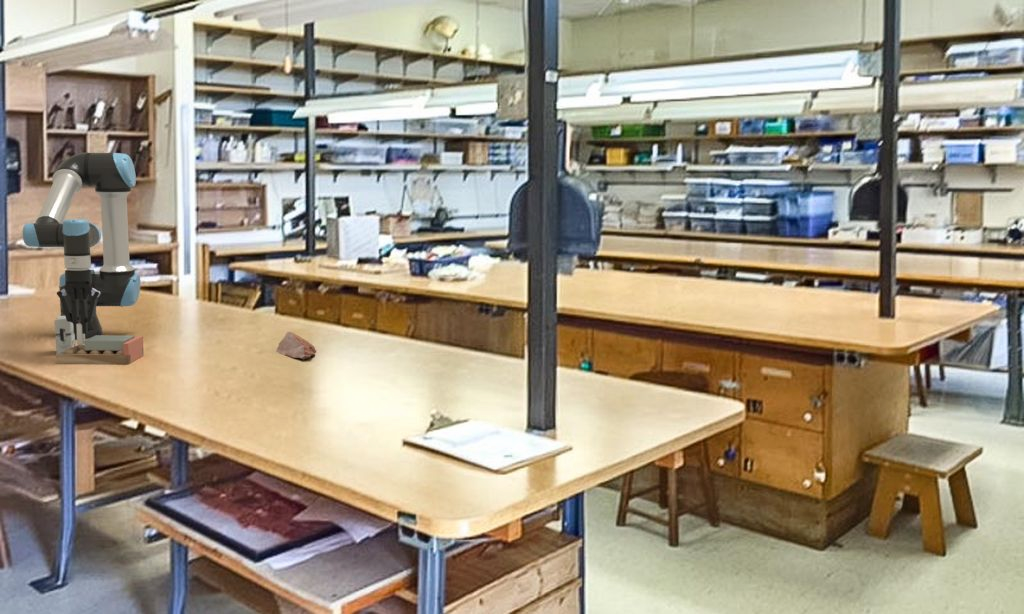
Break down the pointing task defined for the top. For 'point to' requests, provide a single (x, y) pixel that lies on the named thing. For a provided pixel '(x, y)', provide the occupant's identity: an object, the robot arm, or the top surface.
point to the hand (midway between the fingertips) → (81, 343)
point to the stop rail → (133, 348)
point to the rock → (295, 346)
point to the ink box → (64, 334)
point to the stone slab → (106, 342)
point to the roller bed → (92, 356)
